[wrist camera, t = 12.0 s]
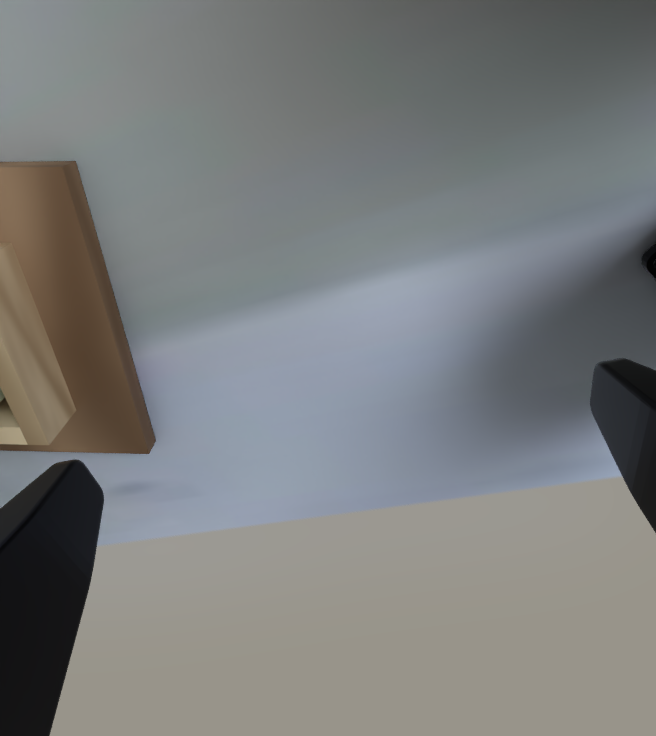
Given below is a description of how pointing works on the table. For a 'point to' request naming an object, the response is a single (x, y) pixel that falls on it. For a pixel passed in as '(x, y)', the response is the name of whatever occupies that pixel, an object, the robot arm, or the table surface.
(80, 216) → the dock
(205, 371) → the table surface
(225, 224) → the table surface
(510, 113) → the table surface
